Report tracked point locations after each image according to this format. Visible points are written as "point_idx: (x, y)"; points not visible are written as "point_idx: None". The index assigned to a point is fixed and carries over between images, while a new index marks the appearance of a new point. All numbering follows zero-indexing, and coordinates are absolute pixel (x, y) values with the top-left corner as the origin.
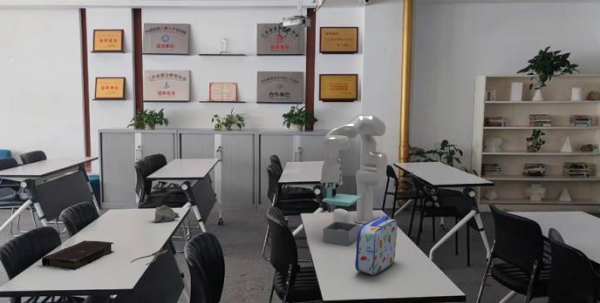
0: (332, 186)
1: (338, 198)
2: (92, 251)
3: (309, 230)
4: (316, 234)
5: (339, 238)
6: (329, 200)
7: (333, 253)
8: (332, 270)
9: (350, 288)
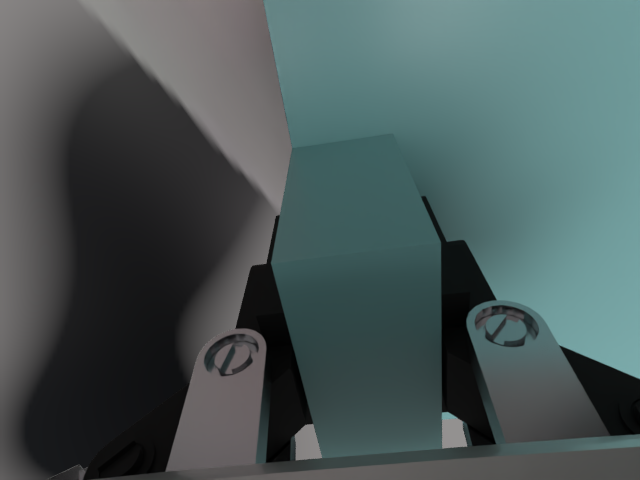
0: (344, 296)
1: (526, 281)
2: None
3: (86, 4)
4: (203, 69)
5: None
6: (446, 417)
7: None
8: None
9: None
